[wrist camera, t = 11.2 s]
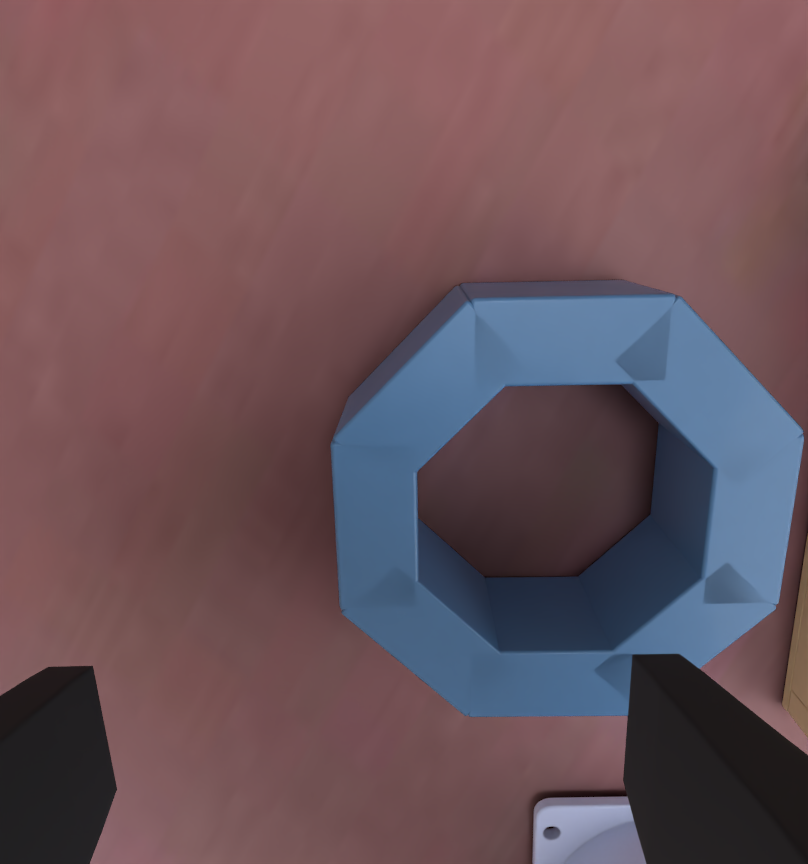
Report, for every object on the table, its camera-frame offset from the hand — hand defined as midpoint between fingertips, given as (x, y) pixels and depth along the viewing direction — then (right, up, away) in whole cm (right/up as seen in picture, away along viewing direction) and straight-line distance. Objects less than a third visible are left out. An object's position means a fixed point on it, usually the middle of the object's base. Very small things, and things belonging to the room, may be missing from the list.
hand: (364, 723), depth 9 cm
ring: (+4, +3, +9) cm, 10 cm away
